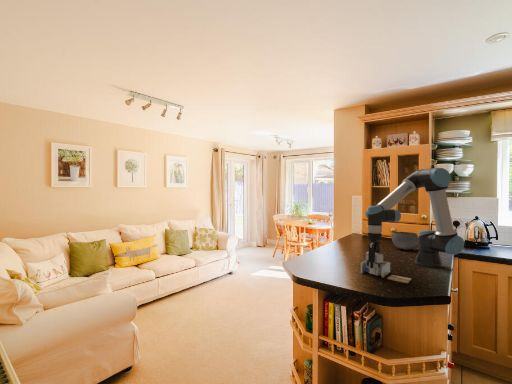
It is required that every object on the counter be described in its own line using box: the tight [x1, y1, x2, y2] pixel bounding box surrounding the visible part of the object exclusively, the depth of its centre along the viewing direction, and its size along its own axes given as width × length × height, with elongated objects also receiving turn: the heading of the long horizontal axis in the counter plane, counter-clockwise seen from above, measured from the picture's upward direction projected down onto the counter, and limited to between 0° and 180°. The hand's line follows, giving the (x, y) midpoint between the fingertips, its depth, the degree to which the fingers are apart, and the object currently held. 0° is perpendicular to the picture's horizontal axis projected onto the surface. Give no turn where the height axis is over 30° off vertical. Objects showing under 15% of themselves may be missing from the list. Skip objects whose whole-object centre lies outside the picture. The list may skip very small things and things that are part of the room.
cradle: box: [360, 259, 391, 279], centre depth 158 cm, size 14×12×6 cm
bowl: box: [391, 231, 419, 251], centre depth 235 cm, size 20×20×15 cm
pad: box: [386, 274, 412, 284], centre depth 146 cm, size 9×10×1 cm
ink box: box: [365, 251, 384, 277], centre depth 156 cm, size 8×5×12 cm, turn 26°
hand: (374, 272), depth 156 cm, fingers closed on ink box, 7 cm apart
